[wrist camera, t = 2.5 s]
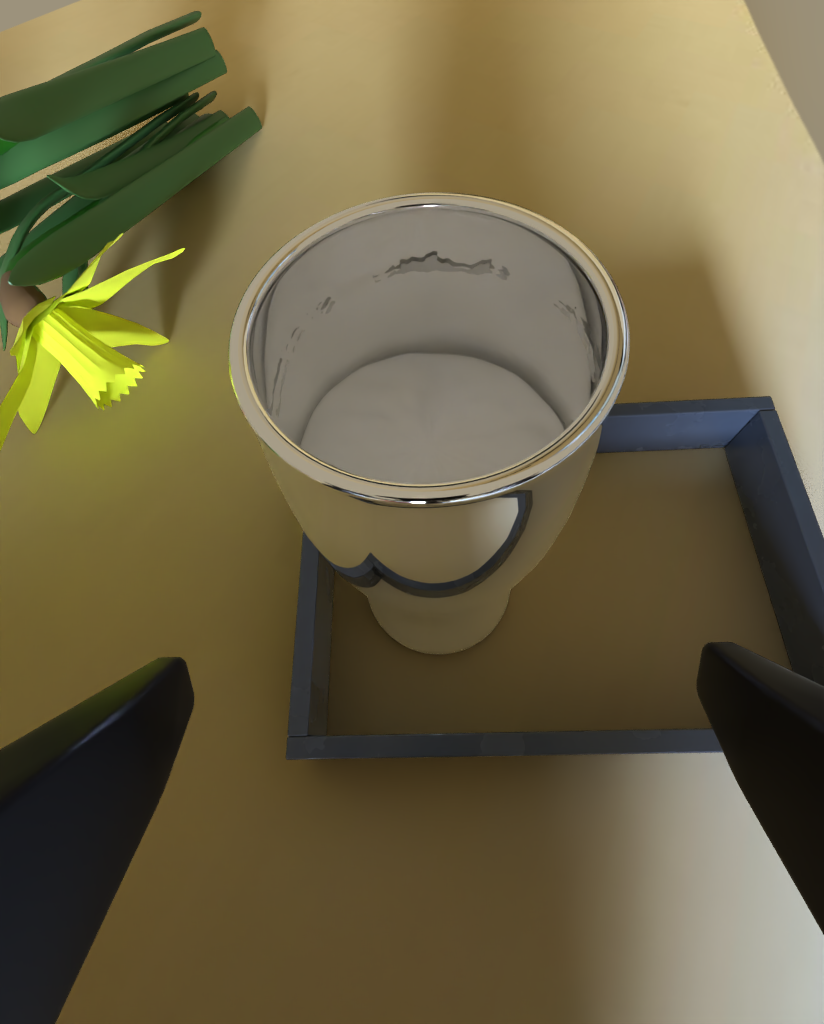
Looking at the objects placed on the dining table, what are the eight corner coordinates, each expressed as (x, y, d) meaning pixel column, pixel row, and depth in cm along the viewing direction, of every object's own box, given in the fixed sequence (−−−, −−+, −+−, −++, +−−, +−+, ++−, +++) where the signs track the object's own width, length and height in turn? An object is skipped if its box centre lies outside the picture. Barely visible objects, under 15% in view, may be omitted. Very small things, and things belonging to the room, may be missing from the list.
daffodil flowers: (369, 150, 36) (50, 550, 14) (234, 250, 44) (-106, 609, 22) (178, -189, 26) (-1757, -559, 4) (48, 17, 34) (-897, 248, 12)
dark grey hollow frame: (836, 748, 19) (903, 749, 16) (307, 757, 20) (284, 759, 17) (734, 434, 24) (771, 395, 21) (326, 453, 25) (311, 417, 22)
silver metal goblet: (485, 695, 20) (569, 594, 6) (329, 625, 22) (127, 421, 8) (542, 541, 23) (689, 231, 9) (398, 488, 24) (334, 152, 10)
